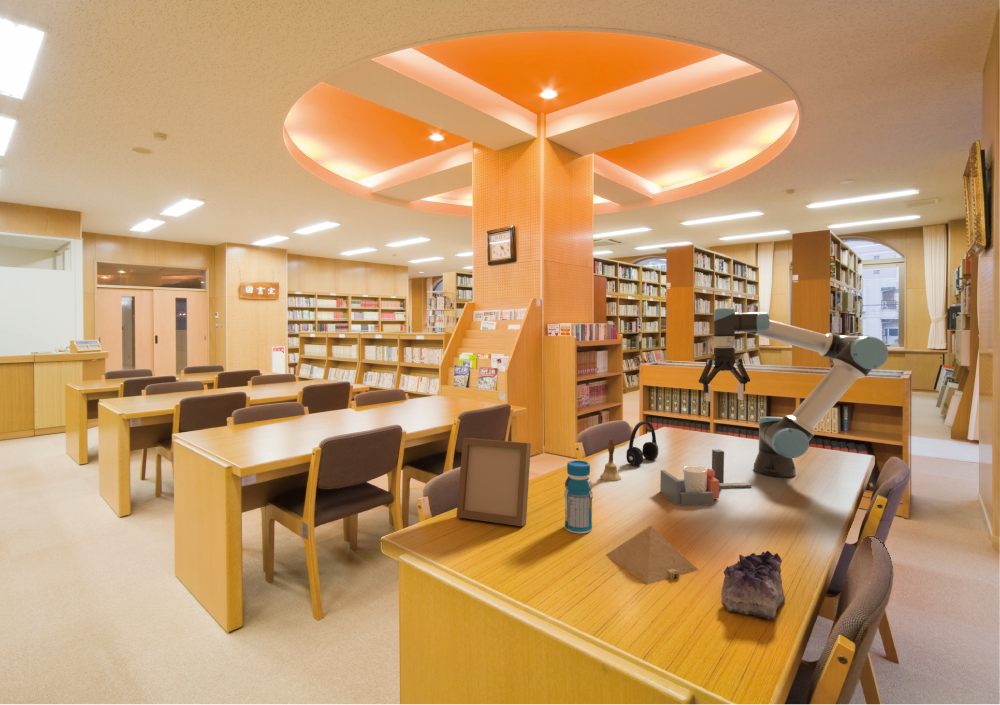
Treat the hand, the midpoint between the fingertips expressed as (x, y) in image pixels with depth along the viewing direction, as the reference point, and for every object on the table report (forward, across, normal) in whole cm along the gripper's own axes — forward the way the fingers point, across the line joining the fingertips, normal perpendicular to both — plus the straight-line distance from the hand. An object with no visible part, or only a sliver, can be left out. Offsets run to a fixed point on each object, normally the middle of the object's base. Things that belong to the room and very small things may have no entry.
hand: (724, 400), depth 189 cm
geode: (+31, -41, -81) cm, 96 cm away
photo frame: (+30, -94, -28) cm, 103 cm away
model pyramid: (+31, -58, -63) cm, 91 cm away
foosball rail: (+31, -12, -10) cm, 35 cm away
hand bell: (+31, -45, +6) cm, 55 cm away
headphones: (+31, -24, +26) cm, 47 cm away
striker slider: (+31, -14, -16) cm, 37 cm away
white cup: (+31, -22, -19) cm, 43 cm away
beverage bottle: (+30, -71, -41) cm, 87 cm away
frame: (+31, -26, -19) cm, 44 cm away
